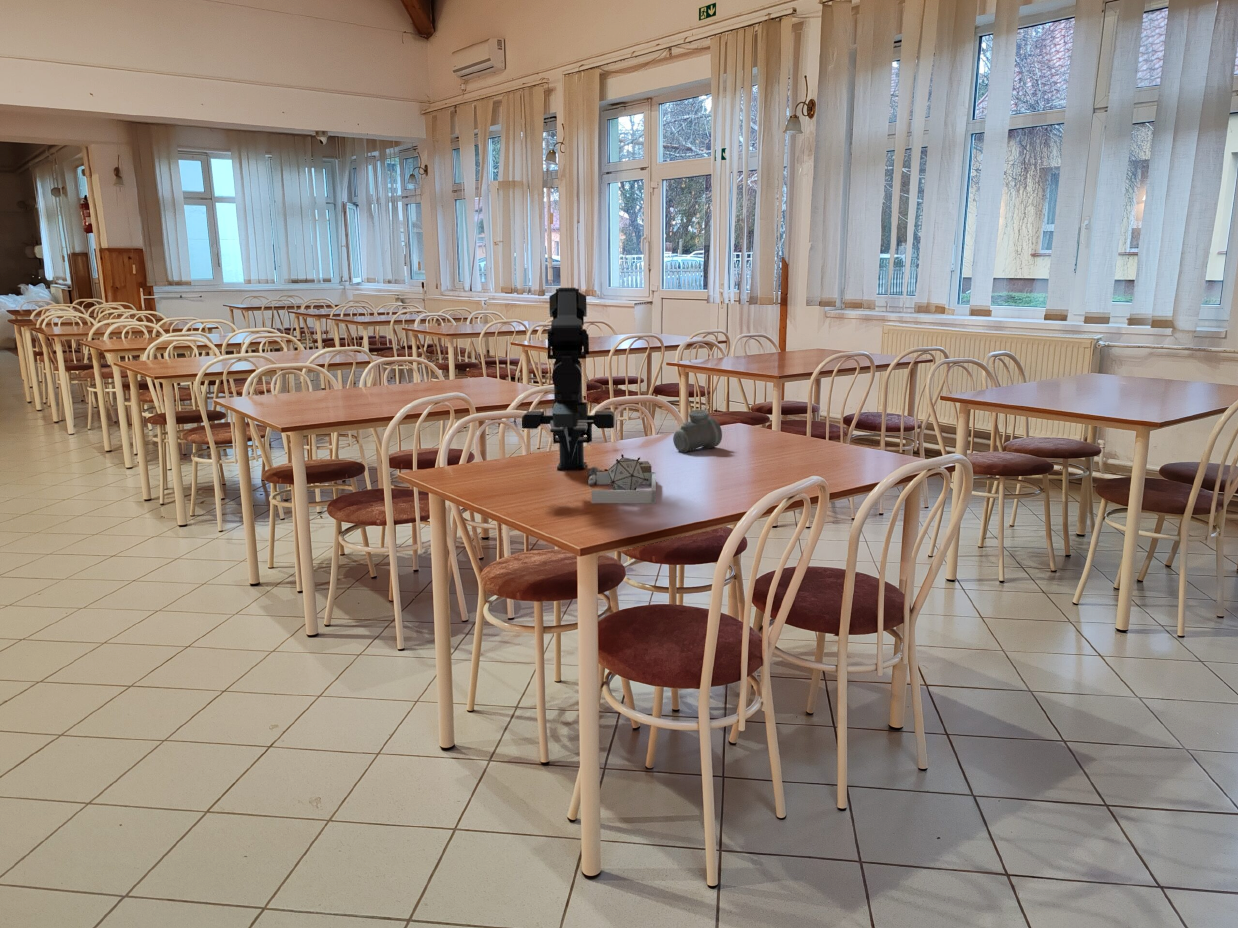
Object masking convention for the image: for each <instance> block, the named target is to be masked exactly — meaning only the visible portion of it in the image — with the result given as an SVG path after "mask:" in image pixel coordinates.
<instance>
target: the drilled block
mask: <svg viewBox="0 0 1238 928" xmlns="http://www.w3.org/2000/svg"><path fill="white" fill-rule="evenodd" d="M639 464H640V466H641V467H642V468H641V469H642V472H643V473H652V472H653V471H652V464H651V463H650V462H649V461H648V460H639Z"/></svg>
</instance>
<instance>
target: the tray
mask: <svg viewBox="0 0 1238 928" xmlns="http://www.w3.org/2000/svg"><path fill="white" fill-rule="evenodd" d="M643 474H644V477H645V479H646V478H647V479H648V480H649V481H646V480H644V481H643V482H642V483H641V484H640V485H651V489H636V490H614V489H603V490H602V489H591V490H590V497H591V498H590V501H591V502H590V503H591V504H656V494H657V493H656V492H657V491H656V489H657V488H656V486H657V485H656V484H657V479H656V477H657V475H656V474H657V472H655V471H652V473H643ZM610 483H611V479H610V476H609V474H608V471H600V472H597V479H596V485H611V484H610Z"/></svg>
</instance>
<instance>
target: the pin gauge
mask: <svg viewBox="0 0 1238 928" xmlns="http://www.w3.org/2000/svg"><path fill="white" fill-rule="evenodd" d="M597 472H601V471H600V468H598V467H596V466H592V467H590V468H589V470H588V473H587V475H588V477H589V478H588V481H587V484H588V486H590V487H593V486H595V485H596V483H597Z"/></svg>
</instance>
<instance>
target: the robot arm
mask: <svg viewBox="0 0 1238 928" xmlns="http://www.w3.org/2000/svg"><path fill="white" fill-rule="evenodd" d="M548 298H549V306H548V307H549V317H550V318H552V320H551V322H550V329H547V360H554V363H553V364H552V366H553V371H552V374H551V381H552V383H553V394H554V395H553V396H554V397H553V399H554V401H553V404H552V410H551V411H552V413H551V415H550V414H545V411H543V410H536V411H535V410H534V411H533V410H530V411H529V410H527V411H526V412H525V413H524V414H523V415H522V417H521V429H531V430H534V429H538V428H539V427H540V426H541V425H549V426H550V429H549V430H550V431H549V432H550V433H552V442H553V445H554V444H556V445H557V444H559V445H558V447H559V448H558V450H559V451H558V452H559V463H558V464H557V467H556V470H557V471H560V470H561V471H562V470H563V471H564V470H565V471H566V470H567V471H584V470H586V467H587V462H585V459H584V458H585V457H584V456H585V454H584V453H585V451H584V448H585V447H584V443H585V444H589V443H592V442H593V431H592V430H593V426H592V425H594V426H595V427H596V428H597V429H614V428H615V425H616V416H615V415H616V413H615V412H613V411H612V410H596V411H595V413H594V414H588V413H589V411H588V403H587V401H586V402H584V401H583V375H582V373H583V369H582V368H583V366H582V364H583V363H582V362H581V360H586V359H587V355H590V343H589V342H590V339H589V336H590V335H589V334H588V332H587V330H586V328H583V327H584V324H585V323H584V322H585V321H584V320H585V319H584V318H585V317H587V316H588V315H587V313H588V312H587V310H588V308H587V307H588V306H587V295H585V294H583V293H581V292H580V291H579V288H577V287H558V288H555V292H554V293H553V294H551V295H550V296H549V297H548ZM551 352H552V353H551ZM582 352H583V353H582Z"/></svg>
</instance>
